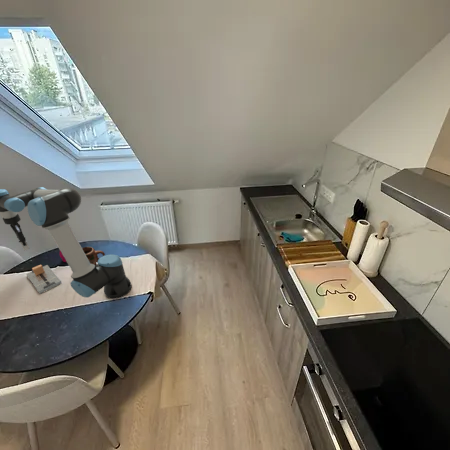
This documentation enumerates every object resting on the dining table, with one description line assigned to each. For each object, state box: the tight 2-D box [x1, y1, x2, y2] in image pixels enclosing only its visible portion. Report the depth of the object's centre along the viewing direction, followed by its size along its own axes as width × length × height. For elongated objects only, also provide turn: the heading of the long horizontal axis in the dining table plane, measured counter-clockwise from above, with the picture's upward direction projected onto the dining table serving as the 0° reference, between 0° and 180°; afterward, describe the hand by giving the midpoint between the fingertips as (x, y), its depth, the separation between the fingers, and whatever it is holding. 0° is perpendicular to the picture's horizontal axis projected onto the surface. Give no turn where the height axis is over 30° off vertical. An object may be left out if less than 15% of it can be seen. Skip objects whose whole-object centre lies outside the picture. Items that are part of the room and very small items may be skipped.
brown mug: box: [82, 246, 106, 266], centre depth 164 cm, size 20×12×14 cm, turn 113°
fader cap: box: [31, 264, 45, 276], centre depth 159 cm, size 2×5×5 cm, turn 139°
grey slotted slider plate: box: [25, 264, 62, 295], centre depth 157 cm, size 24×12×3 cm, turn 49°
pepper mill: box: [54, 241, 67, 263], centre depth 170 cm, size 7×7×20 cm
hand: (26, 249), depth 156 cm, fingers closed
